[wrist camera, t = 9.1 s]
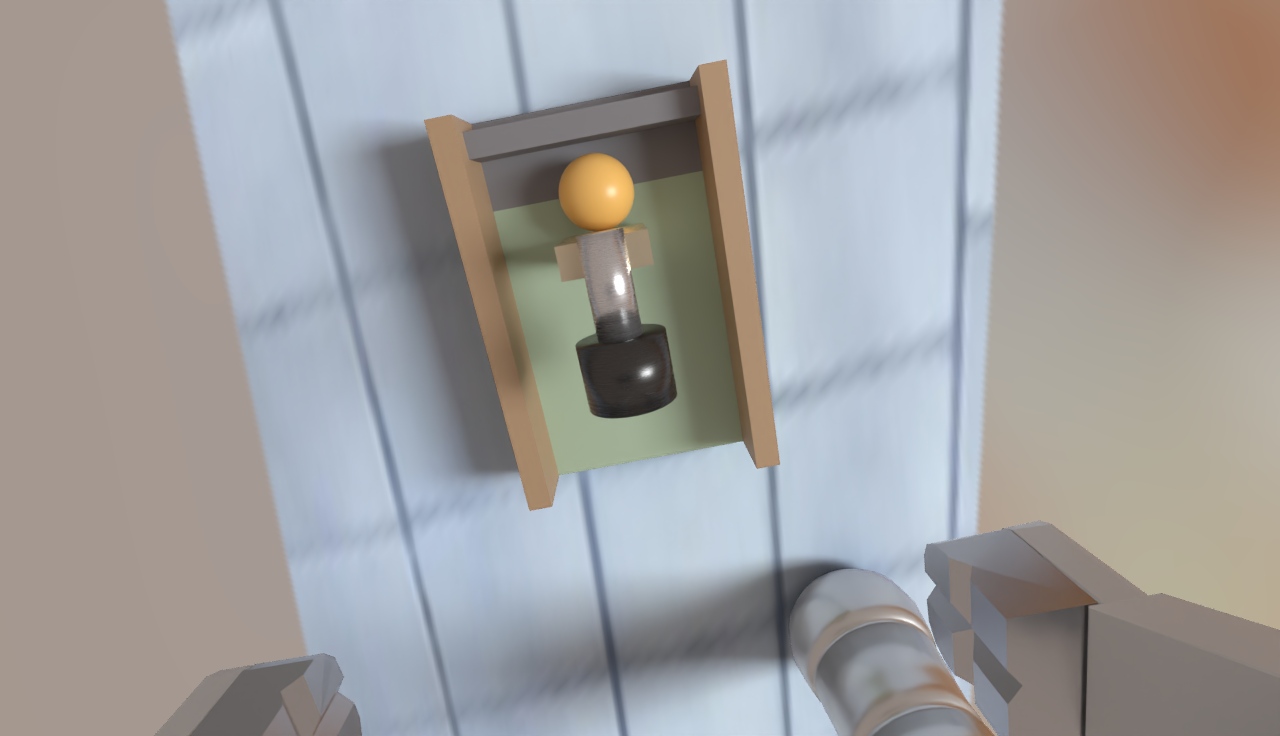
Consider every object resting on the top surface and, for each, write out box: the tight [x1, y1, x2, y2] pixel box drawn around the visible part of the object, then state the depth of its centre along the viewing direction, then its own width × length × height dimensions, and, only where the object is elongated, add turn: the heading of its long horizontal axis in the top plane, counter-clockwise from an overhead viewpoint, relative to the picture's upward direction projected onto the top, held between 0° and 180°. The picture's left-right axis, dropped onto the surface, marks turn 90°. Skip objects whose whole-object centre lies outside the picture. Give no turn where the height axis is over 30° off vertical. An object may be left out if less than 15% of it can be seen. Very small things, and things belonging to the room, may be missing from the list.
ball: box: [559, 153, 634, 232], centre depth 24 cm, size 3×3×3 cm
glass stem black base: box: [554, 223, 677, 419], centre depth 22 cm, size 6×3×7 cm, turn 10°
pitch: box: [424, 60, 780, 511], centre depth 25 cm, size 16×11×4 cm
